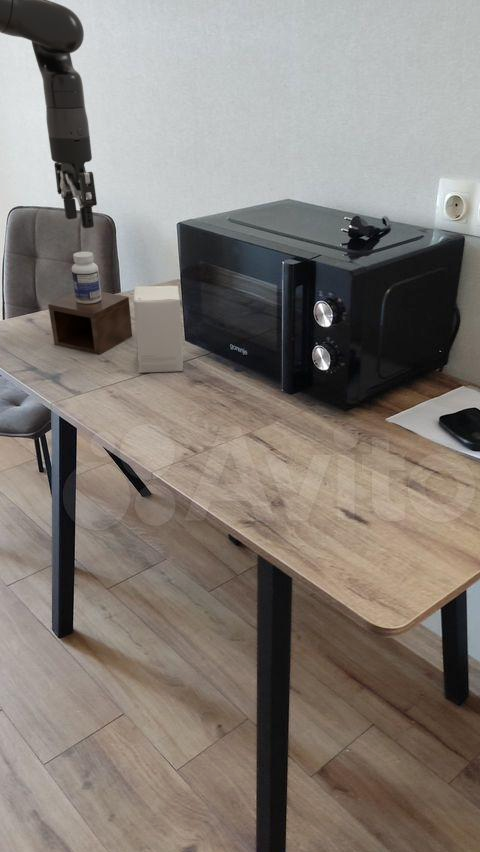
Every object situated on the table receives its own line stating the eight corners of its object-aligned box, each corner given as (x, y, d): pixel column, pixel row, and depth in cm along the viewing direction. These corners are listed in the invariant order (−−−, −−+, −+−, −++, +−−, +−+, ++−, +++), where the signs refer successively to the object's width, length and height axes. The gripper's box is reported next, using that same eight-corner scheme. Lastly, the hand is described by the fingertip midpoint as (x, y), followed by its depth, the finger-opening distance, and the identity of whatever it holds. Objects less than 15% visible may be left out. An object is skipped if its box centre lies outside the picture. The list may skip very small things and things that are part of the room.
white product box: (184, 372, 141) (180, 299, 133) (138, 373, 140) (132, 300, 132) (182, 354, 149) (178, 284, 141) (139, 356, 148) (133, 285, 140)
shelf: (99, 354, 148) (94, 313, 143) (54, 344, 152) (47, 304, 147) (132, 336, 157) (128, 296, 152) (88, 326, 161) (83, 288, 156)
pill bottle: (77, 296, 152) (71, 250, 146) (102, 296, 152) (97, 250, 147) (74, 304, 147) (67, 257, 142) (100, 304, 148) (95, 257, 142)
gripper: (36, 130, 135) (48, 218, 144) (63, 139, 126) (75, 233, 134) (73, 128, 139) (83, 214, 148) (103, 137, 129) (111, 228, 138)
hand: (79, 223), depth 141 cm, fingers open, 8 cm apart
